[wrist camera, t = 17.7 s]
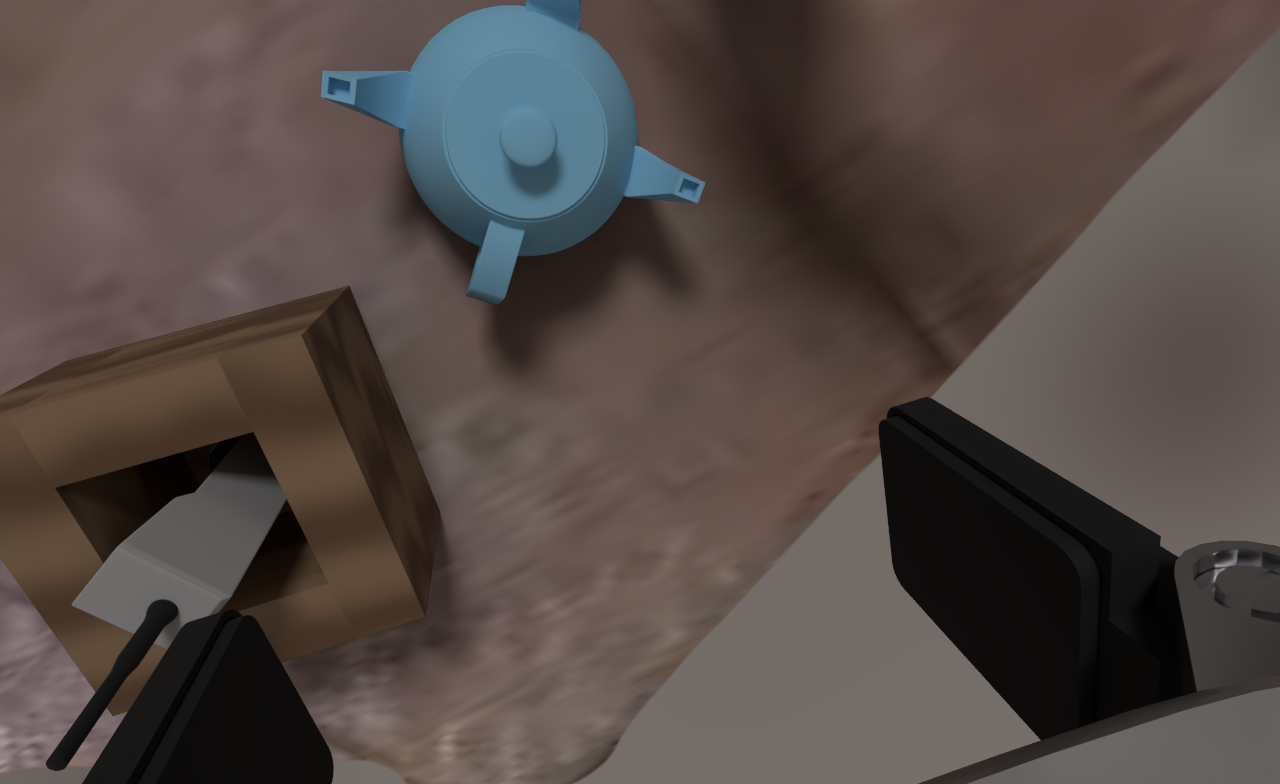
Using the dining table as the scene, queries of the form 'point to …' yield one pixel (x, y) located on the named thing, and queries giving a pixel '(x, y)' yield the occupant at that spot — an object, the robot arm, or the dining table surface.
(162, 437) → the well block
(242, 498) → the vintage mobile phone
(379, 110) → the teapot
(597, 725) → the dining table surface
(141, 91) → the dining table surface
